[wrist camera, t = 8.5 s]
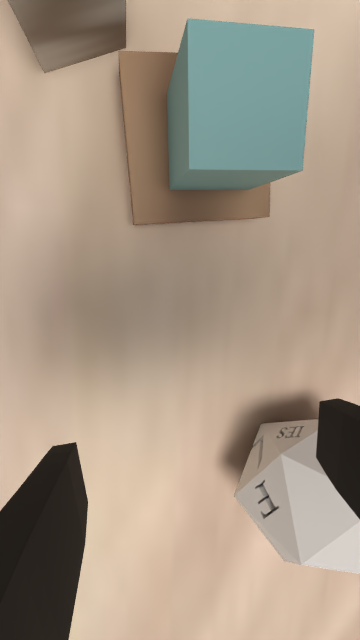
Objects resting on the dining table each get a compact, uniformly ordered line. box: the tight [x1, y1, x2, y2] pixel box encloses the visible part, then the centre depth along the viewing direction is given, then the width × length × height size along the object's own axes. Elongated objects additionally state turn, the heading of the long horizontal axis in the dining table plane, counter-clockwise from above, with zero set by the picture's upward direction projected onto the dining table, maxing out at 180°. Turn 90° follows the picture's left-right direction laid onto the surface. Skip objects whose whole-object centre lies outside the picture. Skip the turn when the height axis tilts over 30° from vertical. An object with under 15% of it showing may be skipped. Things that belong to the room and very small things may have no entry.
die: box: [234, 419, 360, 574], centre depth 19 cm, size 8×9×10 cm
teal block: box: [167, 19, 314, 190], centre depth 12 cm, size 4×4×5 cm
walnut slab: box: [119, 51, 270, 225], centre depth 16 cm, size 7×7×2 cm
